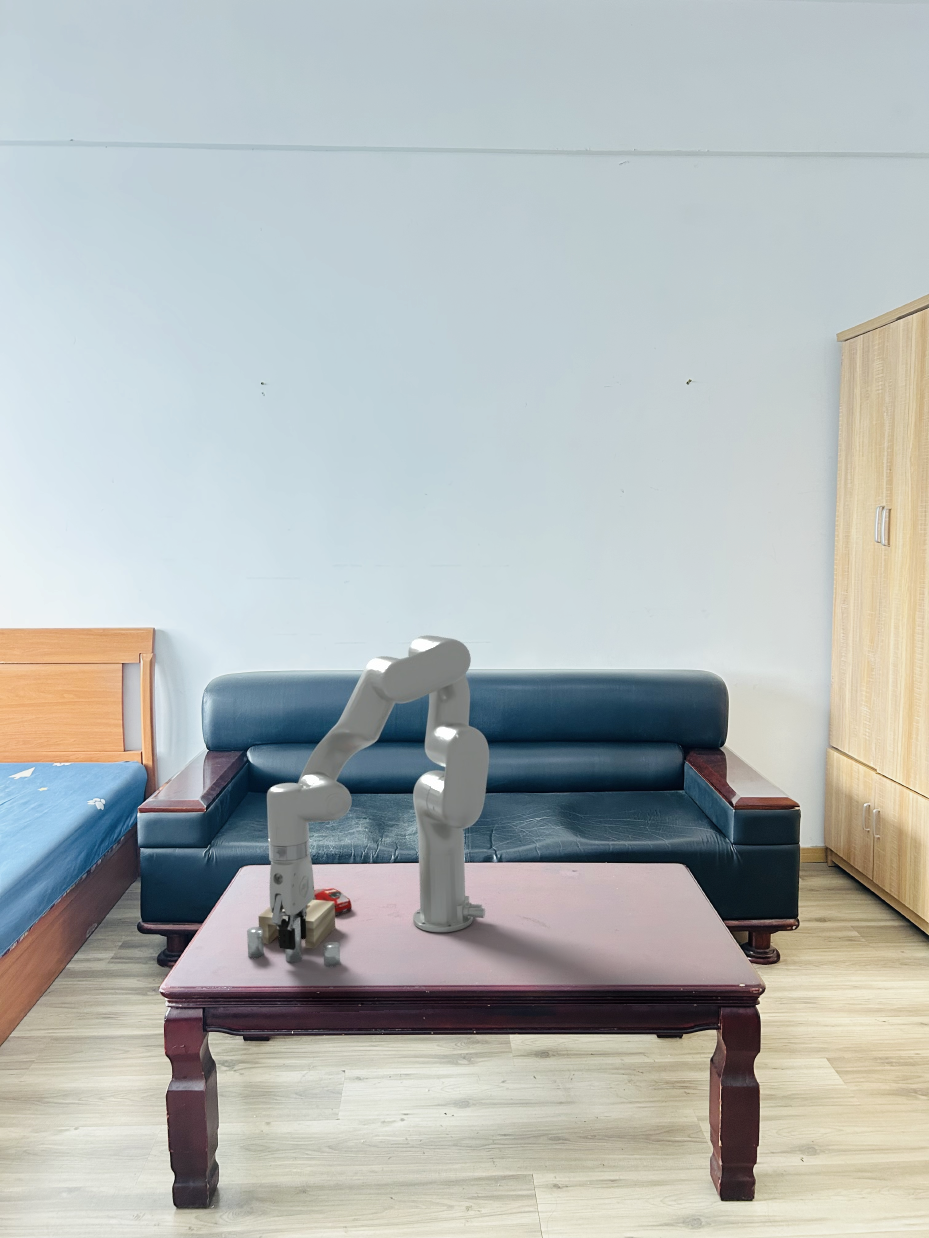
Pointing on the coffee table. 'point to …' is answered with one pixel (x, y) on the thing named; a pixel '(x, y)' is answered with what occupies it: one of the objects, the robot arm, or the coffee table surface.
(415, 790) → the robot arm
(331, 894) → the race car
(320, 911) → the bridge
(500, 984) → the coffee table surface
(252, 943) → the medium pin
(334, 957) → the short pin
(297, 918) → the long pin
